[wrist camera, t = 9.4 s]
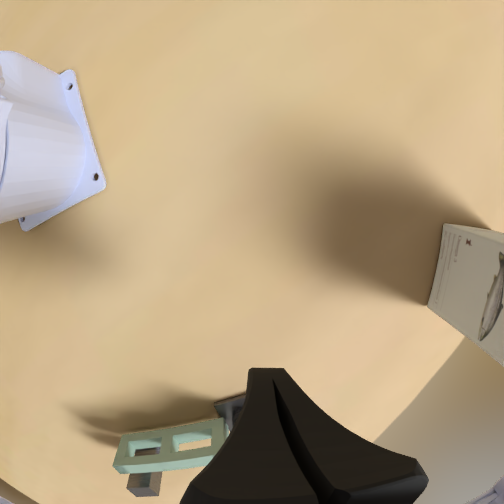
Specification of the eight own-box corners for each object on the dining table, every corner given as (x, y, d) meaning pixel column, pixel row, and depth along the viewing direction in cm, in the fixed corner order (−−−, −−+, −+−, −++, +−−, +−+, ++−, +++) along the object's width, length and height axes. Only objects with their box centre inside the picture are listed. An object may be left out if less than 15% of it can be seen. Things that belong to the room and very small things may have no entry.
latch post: (129, 444, 24) (118, 485, 18) (160, 440, 24) (152, 484, 18) (146, 462, 24) (138, 502, 19) (176, 458, 24) (171, 501, 19)
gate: (223, 417, 22) (223, 453, 18) (228, 426, 23) (229, 461, 19) (122, 434, 22) (112, 465, 18) (128, 442, 23) (120, 473, 19)
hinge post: (214, 402, 23) (213, 452, 17) (255, 390, 23) (263, 440, 17) (230, 429, 24) (232, 476, 18) (269, 418, 24) (278, 465, 18)
